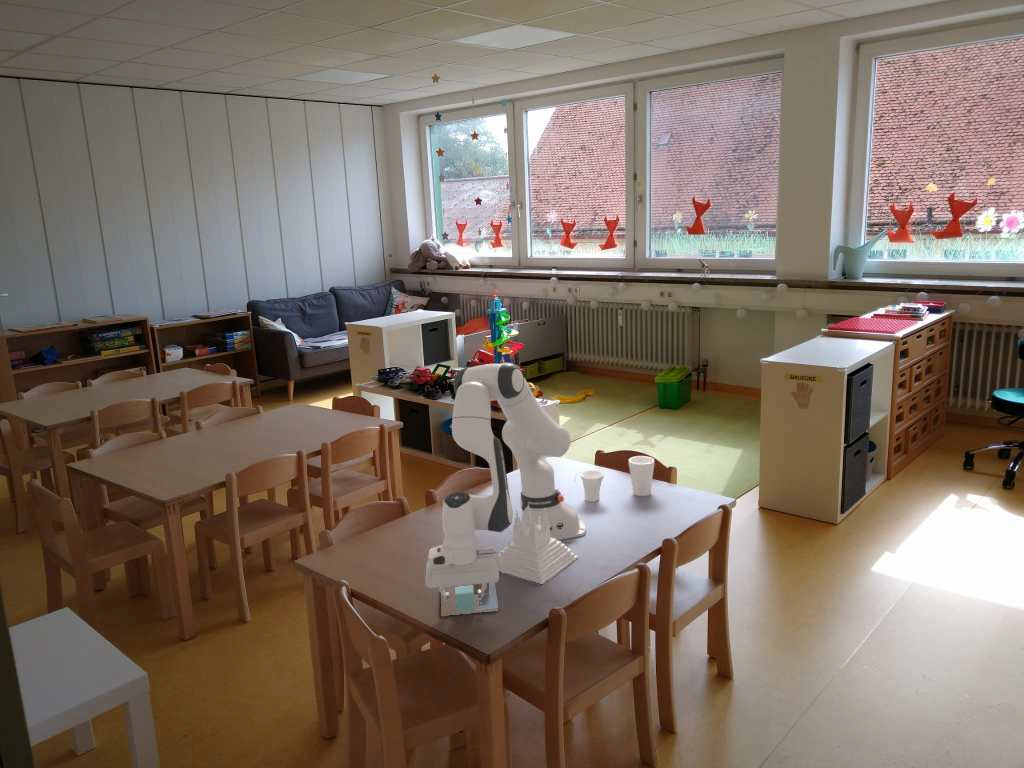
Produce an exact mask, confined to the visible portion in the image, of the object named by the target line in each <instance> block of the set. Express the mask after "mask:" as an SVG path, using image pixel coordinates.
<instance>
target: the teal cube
mask: <svg viewBox="0 0 1024 768" xmlns="http://www.w3.org/2000/svg"><path fill="white" fill-rule="evenodd" d="M455 595H456V608H457V611H474V610H475V603H474V590H473V585H469V586H459V587H455Z"/></svg>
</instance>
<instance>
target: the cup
mask: <svg viewBox="0 0 1024 768" xmlns="http://www.w3.org/2000/svg"><path fill="white" fill-rule="evenodd" d="M579 476H580V478H581V480H582V486H583V488H584V491H583V492H584V501H586V502H588V503H589V502H590V503H594V502H598V501H599V500H600V491H601V486H602V482H603V479H604V478H605V473H604V472H602V471H599V470H594V469H592V470H585V471H582V472H581V473H580V474H579Z"/></svg>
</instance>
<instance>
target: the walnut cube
mask: <svg viewBox="0 0 1024 768" xmlns="http://www.w3.org/2000/svg"><path fill="white" fill-rule="evenodd" d="M481 587H482V584H473V590H474V595H476V594H478V590H479V589H481ZM487 593H490V592H489V583H487V587H486V589H485V591H484V592H483V594H487Z"/></svg>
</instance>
